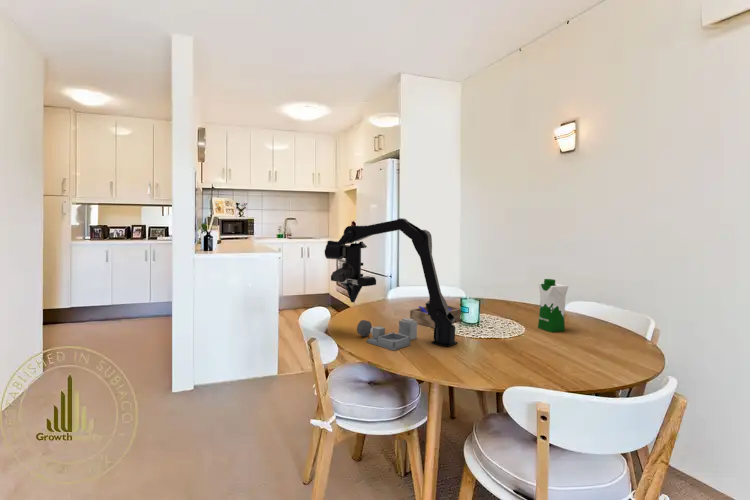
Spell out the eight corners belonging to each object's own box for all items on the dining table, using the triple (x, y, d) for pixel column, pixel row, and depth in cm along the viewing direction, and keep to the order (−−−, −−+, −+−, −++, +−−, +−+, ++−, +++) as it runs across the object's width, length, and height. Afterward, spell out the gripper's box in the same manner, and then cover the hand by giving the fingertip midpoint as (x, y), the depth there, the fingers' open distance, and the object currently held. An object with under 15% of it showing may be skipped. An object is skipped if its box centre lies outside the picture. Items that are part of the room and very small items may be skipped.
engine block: (416, 338, 144) (417, 319, 144) (409, 340, 141) (410, 321, 141) (405, 335, 148) (406, 317, 147) (398, 337, 145) (399, 318, 144)
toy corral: (461, 319, 172) (462, 308, 172) (435, 328, 158) (435, 315, 158) (437, 314, 181) (437, 303, 181) (410, 322, 167) (410, 310, 166)
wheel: (371, 334, 146) (371, 319, 145) (360, 337, 142) (361, 322, 142) (366, 333, 148) (367, 318, 147) (356, 336, 144) (356, 321, 143)
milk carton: (534, 327, 162) (536, 278, 160) (551, 325, 165) (554, 277, 164) (551, 333, 154) (553, 281, 152) (568, 331, 157) (571, 280, 156)
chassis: (410, 345, 136) (410, 331, 135) (393, 350, 129) (394, 336, 129) (380, 336, 145) (381, 324, 145) (364, 341, 139) (364, 328, 138)
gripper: (319, 259, 148) (319, 301, 149) (354, 263, 135) (354, 309, 136) (342, 257, 156) (341, 297, 157) (377, 261, 143) (376, 305, 144)
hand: (352, 302), depth 148 cm, fingers closed
